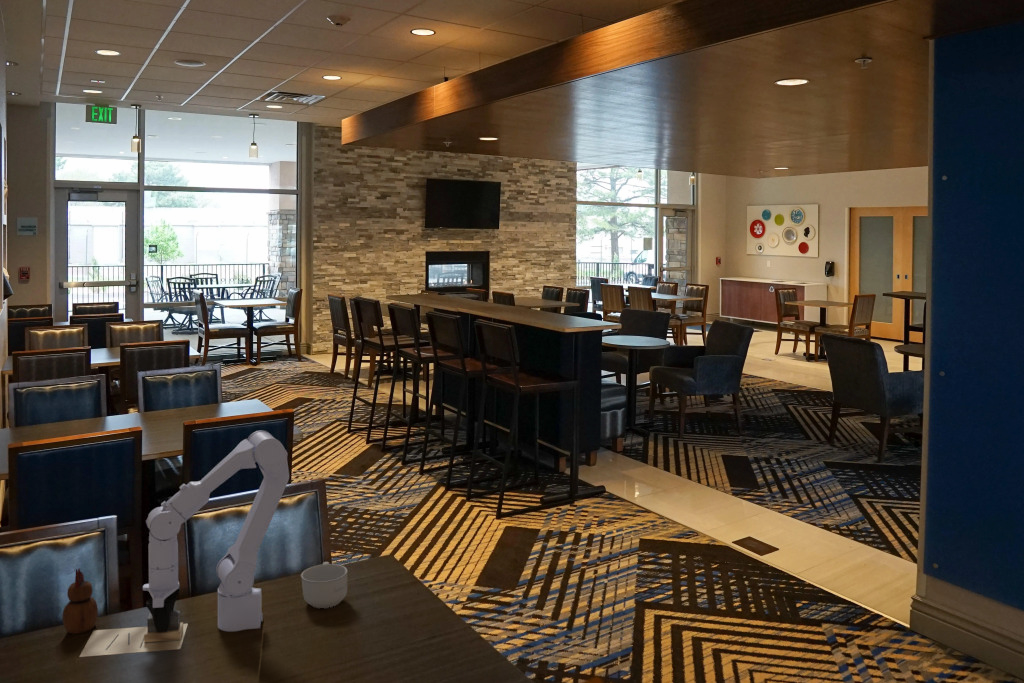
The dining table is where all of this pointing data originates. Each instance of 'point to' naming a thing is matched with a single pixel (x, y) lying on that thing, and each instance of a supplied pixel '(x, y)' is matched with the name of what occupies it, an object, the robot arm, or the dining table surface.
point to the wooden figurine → (80, 606)
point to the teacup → (324, 585)
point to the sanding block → (171, 635)
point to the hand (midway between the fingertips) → (164, 626)
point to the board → (125, 642)
